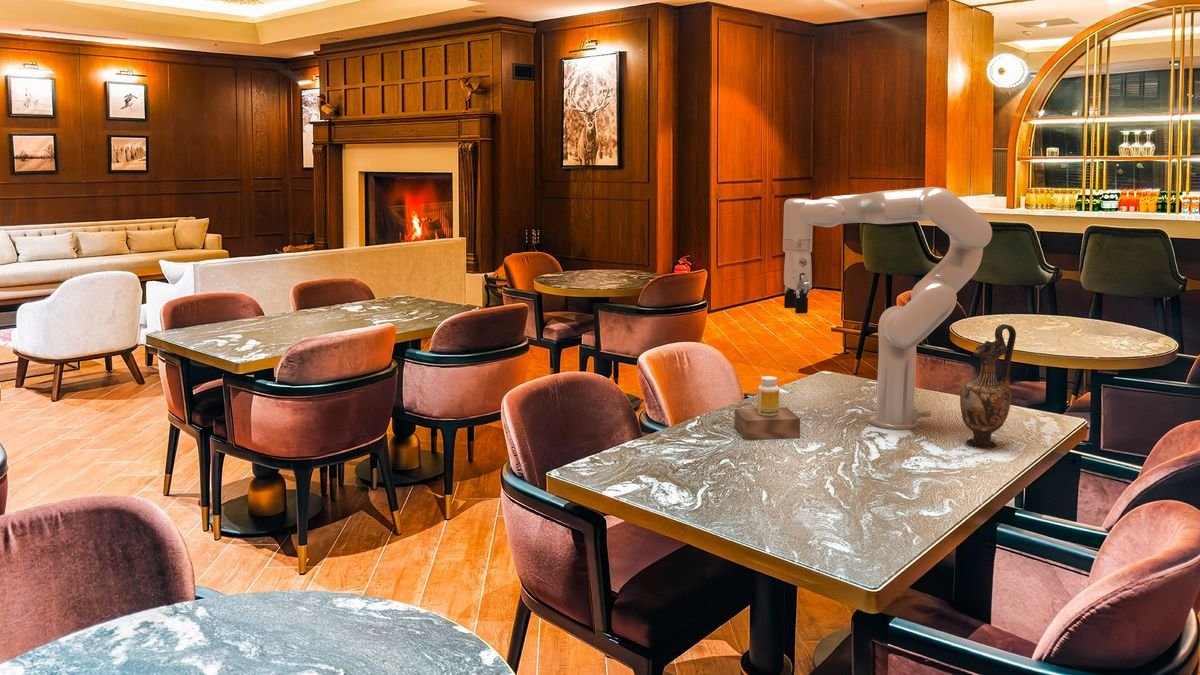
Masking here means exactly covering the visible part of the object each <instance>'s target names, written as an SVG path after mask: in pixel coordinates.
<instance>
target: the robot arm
mask: <svg viewBox="0 0 1200 675" xmlns="http://www.w3.org/2000/svg"><path fill="white" fill-rule="evenodd" d="M783 204H784V205H783V225H782V226H783V228H782V230H783V231H782V235H783V236H782V252H784V253H785V254H784V255H785V257H784V266H783V267H784V268H783V284H784V291H783V292H784V301H783V308H785V309H794V312H795V314H798V315H799V314H808V312H809V310H808V309H809V308H808V306H809V293H810V290H811V289H812V288H813V286H812V285H813V284H812V283H813V282H812V281H813V279H812V278H813V274H812V267H813V266H812V256H811V253H812V252H813V233H814V232H813V230H814V229H813V228H814V227H813V226H817V227H822V228H823V227H824V228H833V227H836V226H838V225H841V224H842V225H843V224H856V223H858V224H859V223H861V224H862V223H865V224H874V225H890V224H901V223H915V222H927V221H930V222H932V223H933V224H934V225H935V226H937V227H938V228H939V229H940V230H941V231H943V232H944V233H945V234H947V236H948V237H949V247H948V251H947V252H946V254H945V255H944V257H943V258H942V259H941V260H940V261H939V263H938V264H936V265H935V266H934V267H933V268H932V269H931V270H930V271H929V272H928V273H927V274H926V275H925V276H923V277H922V278H921V280H919V281H918V282H917V283H916V284H915V285H914V286H913V288H912V289H911V292H910V300H909V301H908V302H907V303H906V304H905V305H904V306H902V305H893V306H890V307H888V308H886V309H885V310H884V311H883V312H882V314H881V316H880V317H879V320H878V327H877V333H878V359H877V360H878V362H877V363H878V364H877V386H876V405H875V406H876V408H875V414H873V415H871V416H870V417H869V423H870V424H871V425H873V426H876V427H878V428H884V429H890V430H909V429H910V430H911V429H912V430H913V429H915V428H917V427H919V425H920V420H919V419H920V418H931V417H932V410H931V409H923V408H916V407H915V391H916V390H915V388H916V369H917V367H916V366H917V346H918V345H919V344H920V343H921V342H923V340H925V339H926V338H927V337H928V336H929V335H930V334H931V333H932V332H934V330H935V329H937V327H939V326H940V325H941V324H942V323H943V322H944V321H945V320H946V319H947V318H948V317H949V316H950V315H951V314H952V312H953V310H954V309H955V308H956V305H957V300H958V299H957V298H958V297H957V293H958V292H960V290H961V289H962V288H963V287H964V286H965V285H966V284H967V283H968V282H969V280H971V278H972V277H973V276H974V275H975V274H976V273H977V271H978V269H979V267H980V265H981V262H982V258H983V255H984V254H983V253H984V248H985V247H986V246H987V245H988V244H989V243H990V242H991V240H992V237H993V228H992V226H991V224H990V222H989V221H988V220H987V219H986V218H985V217H983V216H982V215H981V214H980V213H978V212H977V211H976V210H974V209H973V208H972V207H971V206H970V205H969V204H967V203H965V202H964V201H963V200H962V199H961V198H959V197H958V196H957V195H955V194H954V193H953V192H952V191H951V190H949V189H947V188H944V187H938V186H929V187H915V188H903V189H894V190H881V191H874V192H868V193H860V194H846V195H833V196H825V197H824V196H823V197H821V198H819V199H809V198H788V199H786V200H785V201H784V203H783Z"/></svg>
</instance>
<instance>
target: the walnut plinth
mask: <svg viewBox="0 0 1200 675" xmlns="http://www.w3.org/2000/svg"><path fill="white" fill-rule="evenodd" d="M757 408H758V407H756V408H755V407H753V408H751V407H750V408H735V409H734V428H735V430H736V431H737V432H738V433H739V434H740V435H741V436H742V437H743V438H744V440H745V441H748V440H749V441H750V440H776V439H777V440H779V439H800V438H801V418H800V417H799V416H798V415H797V414H795V413H794V412H793V411H791V410H790V409H789V408H788V407H787V406H786V407H784V406H783V407H779V410H778V414H777V415H775V416H763V415H759V414H758V412H757Z"/></svg>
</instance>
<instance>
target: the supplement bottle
mask: <svg viewBox="0 0 1200 675" xmlns="http://www.w3.org/2000/svg"><path fill="white" fill-rule="evenodd" d="M760 382H761V384H759V386H758V388H757V407H756V408H757V412H758V414H759V415H763V416H775V415H777V414H778V410H779V408H780V407H779V405H780V400H779V399H780V387H779V386H778V385H777V383H778V378H777V377H776V376H772V375H766V376H765V375H764V376H761V377H760Z"/></svg>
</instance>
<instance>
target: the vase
mask: <svg viewBox="0 0 1200 675" xmlns="http://www.w3.org/2000/svg"><path fill="white" fill-rule="evenodd" d="M1005 330H1007V331H1008V334H1009V335H1008V340H1007V343H1005V339H1004V336H1003V335H1004V334H1003V331H1005ZM1016 337H1017V330H1016V328H1014V326H1012V325H1009V324H1003V323H1002V324H1000V325H998V326H997V327H996V328H995V331H994V338H995V340H994V341H989V340H986V341H984V343H982V345H979V346H977V347H976V348H975V350H974V351H973V352H972V354H973V356H974V357H976V358H979V360H980V369H979V373H978V376H977V378H976V379H974V380H970V381H967V382H965V383H962V385H961V386H960V387H961V388H960V391H959V392H960V394H959V408H960V414H961V416H962V420H963V422H964V425H965V427H966V428H968V430H970V431H971V432H972V434H973V435H972V436H973V438H969V439H967V440H966V442H965V444H966V445H967V446H970V447H971V446H972V447H971V448H975V447H976V448H975V449H981V450H983V449H984V450H985V449H994V448H996V447H997V446H998V445H997V443H996V442H995V441H993V440H992V434H993V433H994V432H996V431H999V429H1001V428H1002V427H1003V426H1004V424H1005V422H1006V420H1007V418H1008V415H1009V412H1010V409H1011V403H1012V391H1011V389H1010V386H1011V385H1012V384H1011V378H1010V370H1011V363H1012V358H1013V352H1014V348H1015V344H1016ZM1003 355H1004V359H1003V365H1002V373H1001V378H1000V380H998V379H997V362H998V360H999V359H1000V357H1002V356H1003Z"/></svg>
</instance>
